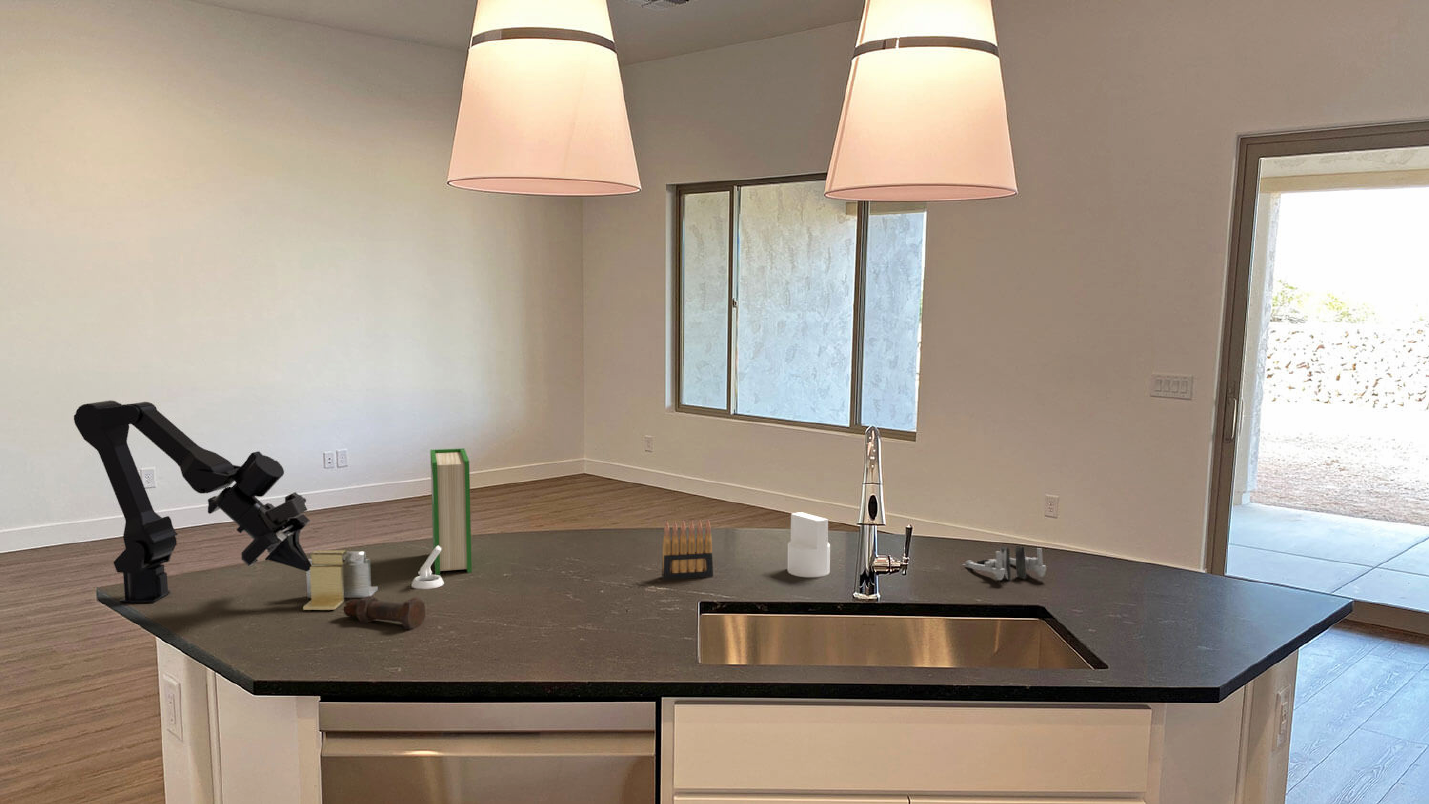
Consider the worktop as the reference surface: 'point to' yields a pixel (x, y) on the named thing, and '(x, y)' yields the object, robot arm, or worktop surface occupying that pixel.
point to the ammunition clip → (687, 553)
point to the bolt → (387, 611)
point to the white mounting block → (352, 575)
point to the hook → (428, 573)
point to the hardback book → (451, 509)
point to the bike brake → (1003, 562)
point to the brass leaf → (326, 580)
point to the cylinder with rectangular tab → (808, 546)
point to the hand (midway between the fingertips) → (309, 569)
